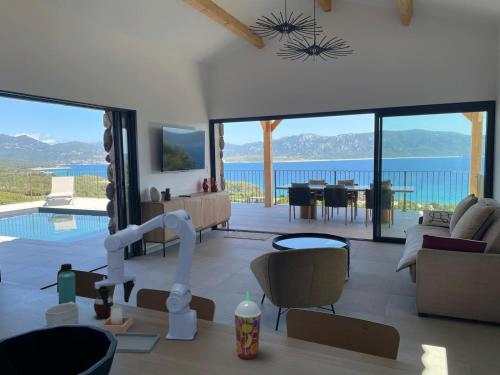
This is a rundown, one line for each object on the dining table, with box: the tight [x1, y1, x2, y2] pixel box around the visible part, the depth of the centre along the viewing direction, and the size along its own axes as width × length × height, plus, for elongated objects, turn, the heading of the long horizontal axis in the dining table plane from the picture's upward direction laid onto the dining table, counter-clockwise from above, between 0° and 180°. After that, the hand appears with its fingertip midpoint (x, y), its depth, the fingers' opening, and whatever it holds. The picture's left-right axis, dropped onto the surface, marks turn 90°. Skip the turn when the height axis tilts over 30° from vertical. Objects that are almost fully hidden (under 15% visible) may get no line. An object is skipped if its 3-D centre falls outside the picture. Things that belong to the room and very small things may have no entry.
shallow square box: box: [99, 316, 133, 335], centre depth 139 cm, size 9×9×3 cm
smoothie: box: [233, 291, 262, 360], centre depth 120 cm, size 8×8×20 cm
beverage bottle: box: [57, 263, 77, 304], centre depth 155 cm, size 6×7×20 cm
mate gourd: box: [93, 276, 114, 320], centre depth 150 cm, size 8×8×15 cm
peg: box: [110, 304, 123, 325], centre depth 139 cm, size 4×4×8 cm
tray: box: [114, 332, 161, 354], centre depth 126 cm, size 16×12×2 cm
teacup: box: [44, 302, 79, 328], centre depth 141 cm, size 14×11×8 cm
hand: (116, 304), depth 138 cm, fingers open, 7 cm apart
